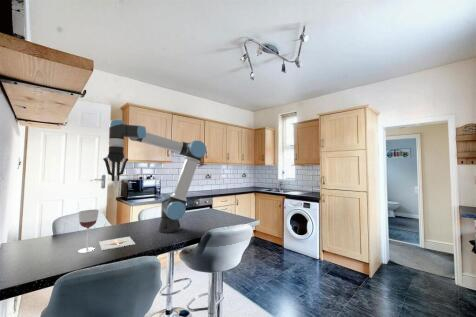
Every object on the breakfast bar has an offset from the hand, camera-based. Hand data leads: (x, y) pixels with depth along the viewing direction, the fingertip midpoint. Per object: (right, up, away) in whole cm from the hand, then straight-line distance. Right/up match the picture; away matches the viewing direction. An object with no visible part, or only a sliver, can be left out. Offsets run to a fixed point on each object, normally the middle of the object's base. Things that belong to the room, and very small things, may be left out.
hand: (115, 186), depth 123 cm
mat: (+2, -32, -2) cm, 32 cm away
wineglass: (-8, -31, -13) cm, 35 cm away
